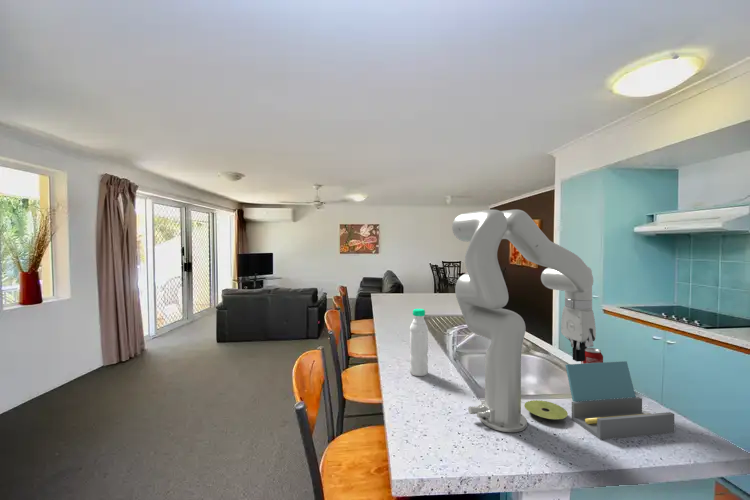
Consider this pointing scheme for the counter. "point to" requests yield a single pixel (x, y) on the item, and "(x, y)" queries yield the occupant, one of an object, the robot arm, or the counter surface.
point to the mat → (546, 409)
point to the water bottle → (418, 344)
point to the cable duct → (620, 418)
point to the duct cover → (600, 381)
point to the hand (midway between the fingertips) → (578, 360)
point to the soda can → (592, 356)
